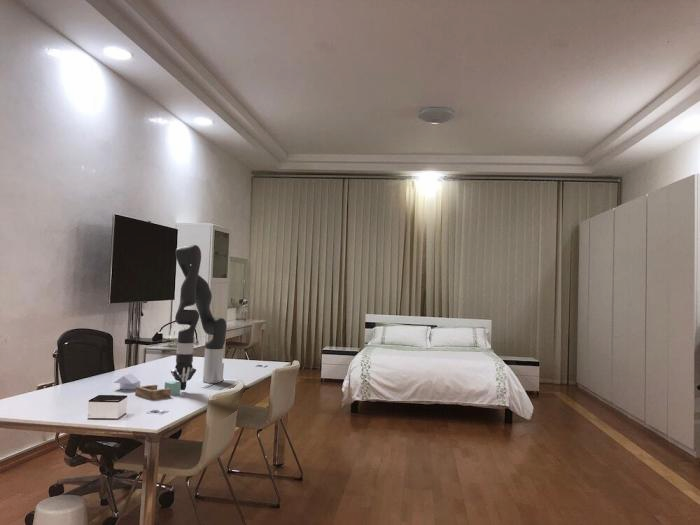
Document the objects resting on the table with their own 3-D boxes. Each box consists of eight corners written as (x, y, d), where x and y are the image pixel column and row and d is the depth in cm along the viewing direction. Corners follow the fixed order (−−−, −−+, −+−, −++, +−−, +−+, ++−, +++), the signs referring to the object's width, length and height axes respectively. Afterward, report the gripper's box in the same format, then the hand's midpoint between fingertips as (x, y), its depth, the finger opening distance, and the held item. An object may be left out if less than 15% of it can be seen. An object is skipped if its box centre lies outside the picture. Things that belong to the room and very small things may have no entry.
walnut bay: (154, 392, 255) (155, 384, 255) (170, 397, 248) (170, 388, 248) (135, 395, 248) (135, 386, 248) (150, 399, 240) (150, 391, 240)
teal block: (173, 391, 259) (174, 381, 259) (180, 393, 256) (180, 382, 256) (164, 393, 255) (164, 382, 255) (170, 394, 252) (171, 383, 252)
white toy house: (132, 391, 256) (142, 386, 269) (133, 376, 256) (143, 372, 269) (112, 390, 256) (124, 385, 268) (113, 375, 256) (125, 371, 269)
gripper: (192, 350, 267) (189, 387, 267) (167, 352, 257) (165, 390, 256) (201, 352, 263) (199, 389, 262) (177, 354, 252) (174, 392, 252)
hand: (182, 389), depth 259 cm, fingers closed
